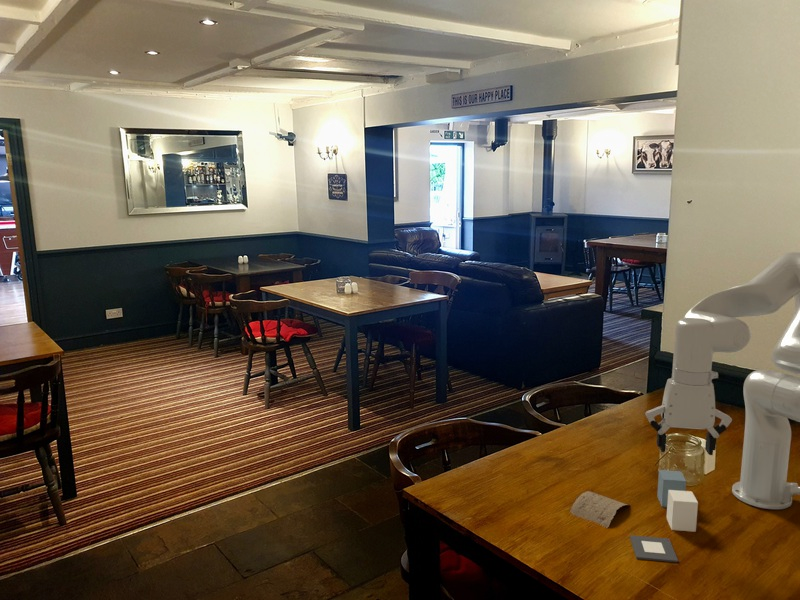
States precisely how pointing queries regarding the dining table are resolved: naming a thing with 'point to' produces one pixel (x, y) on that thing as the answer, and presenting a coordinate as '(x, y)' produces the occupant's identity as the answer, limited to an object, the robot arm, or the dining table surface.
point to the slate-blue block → (669, 484)
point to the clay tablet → (595, 508)
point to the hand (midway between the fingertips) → (685, 451)
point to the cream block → (682, 510)
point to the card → (653, 548)
